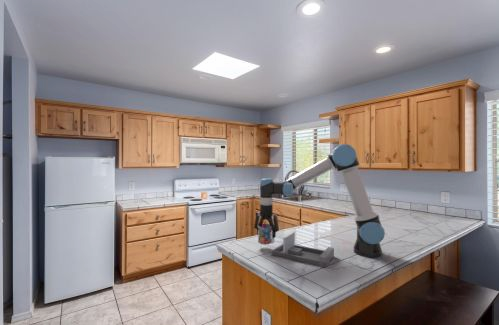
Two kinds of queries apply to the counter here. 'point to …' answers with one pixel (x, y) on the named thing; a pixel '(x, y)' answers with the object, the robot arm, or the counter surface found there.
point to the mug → (264, 234)
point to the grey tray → (307, 255)
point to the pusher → (290, 245)
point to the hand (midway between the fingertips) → (266, 241)
